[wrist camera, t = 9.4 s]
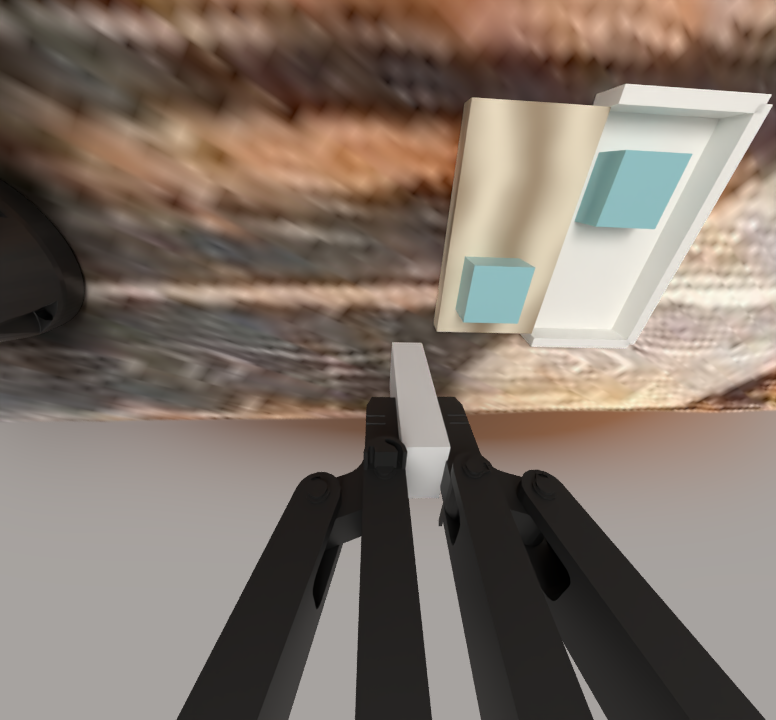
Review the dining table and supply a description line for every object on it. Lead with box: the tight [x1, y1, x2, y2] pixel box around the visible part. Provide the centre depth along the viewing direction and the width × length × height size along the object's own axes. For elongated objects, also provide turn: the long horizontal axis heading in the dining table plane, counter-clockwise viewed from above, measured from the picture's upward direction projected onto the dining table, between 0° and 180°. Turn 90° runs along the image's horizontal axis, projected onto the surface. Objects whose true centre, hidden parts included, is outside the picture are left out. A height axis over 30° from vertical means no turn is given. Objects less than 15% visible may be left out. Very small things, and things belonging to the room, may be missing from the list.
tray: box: [519, 84, 773, 348], centre depth 26 cm, size 11×20×3 cm, turn 178°
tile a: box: [575, 150, 692, 229], centre depth 23 cm, size 5×5×3 cm
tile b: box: [455, 256, 535, 324], centre depth 26 cm, size 5×5×3 cm
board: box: [434, 98, 611, 334], centre depth 26 cm, size 10×18×2 cm, turn 178°
